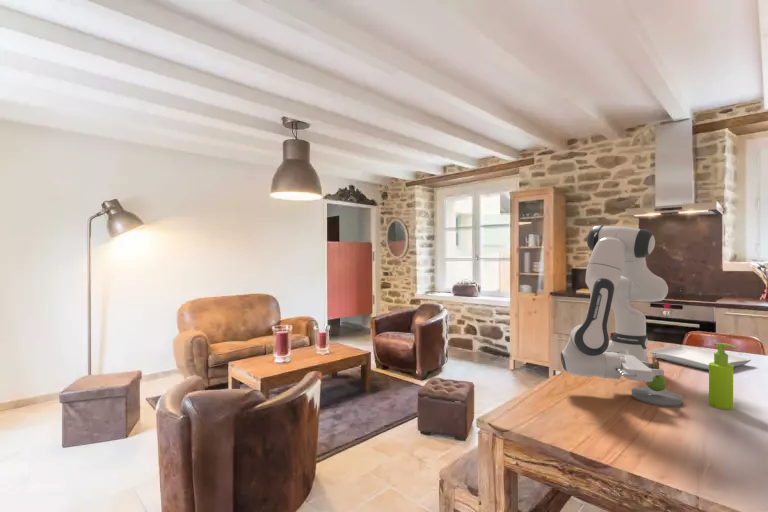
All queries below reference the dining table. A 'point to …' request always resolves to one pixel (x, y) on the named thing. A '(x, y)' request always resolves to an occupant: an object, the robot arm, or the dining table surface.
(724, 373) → the soap dispenser
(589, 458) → the dining table surface
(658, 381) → the snail figurine
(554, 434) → the dining table surface
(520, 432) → the dining table surface
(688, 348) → the square plate
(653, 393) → the slate coaster
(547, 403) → the dining table surface
